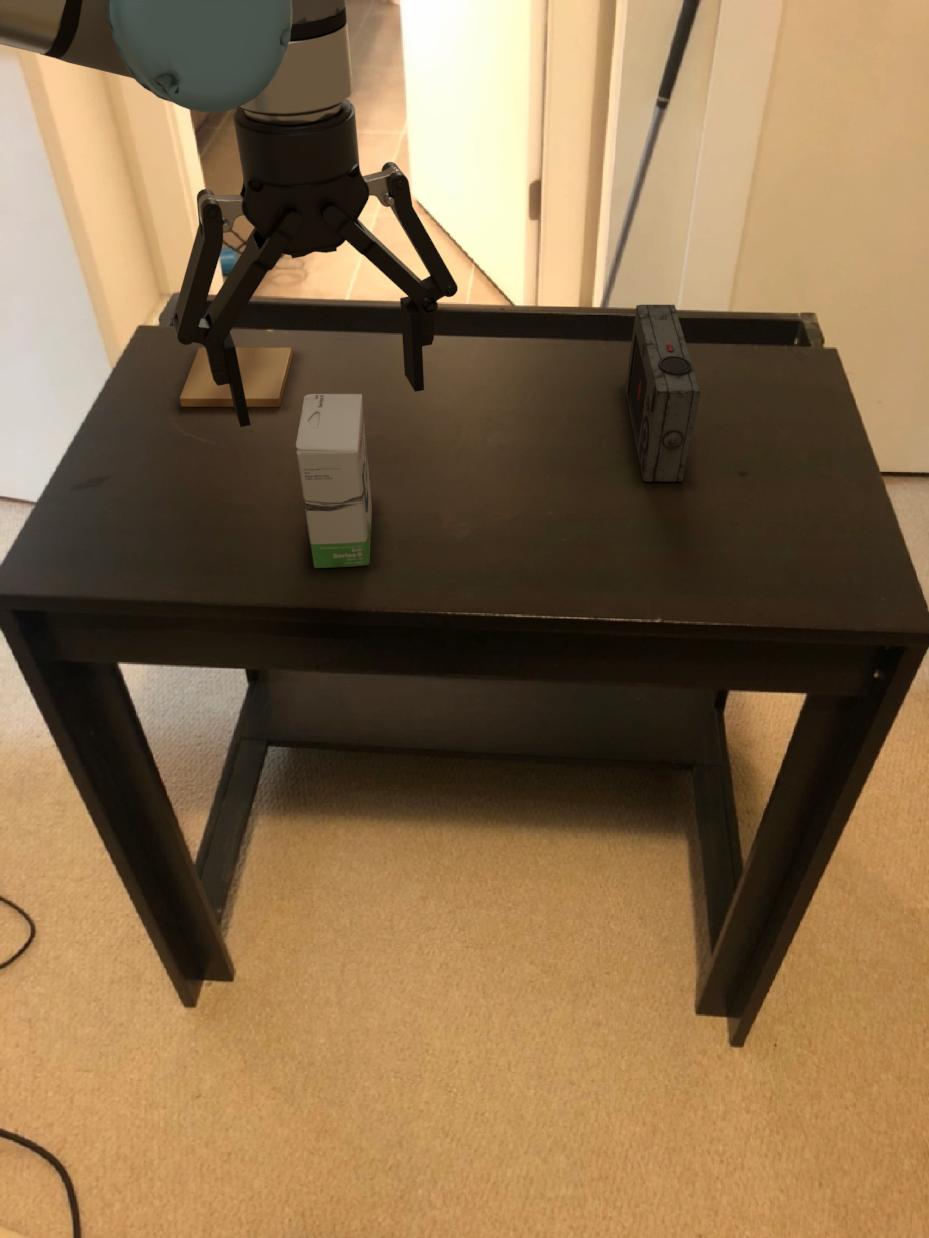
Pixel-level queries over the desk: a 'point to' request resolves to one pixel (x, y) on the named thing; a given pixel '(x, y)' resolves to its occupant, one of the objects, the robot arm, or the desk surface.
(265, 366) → the cork mat
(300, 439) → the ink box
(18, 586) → the desk surface
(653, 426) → the camera
